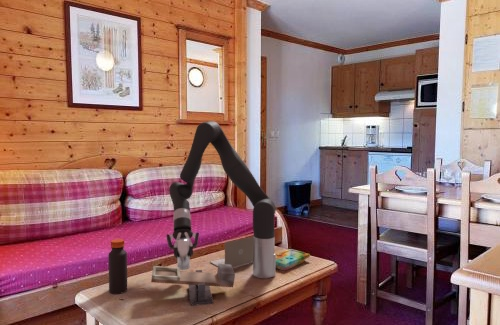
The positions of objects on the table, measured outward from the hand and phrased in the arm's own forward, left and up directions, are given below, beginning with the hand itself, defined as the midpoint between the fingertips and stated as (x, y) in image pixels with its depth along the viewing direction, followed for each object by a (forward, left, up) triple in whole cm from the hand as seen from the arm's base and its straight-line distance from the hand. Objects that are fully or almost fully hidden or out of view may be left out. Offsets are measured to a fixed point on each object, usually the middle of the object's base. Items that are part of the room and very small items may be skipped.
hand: (183, 256), depth 153 cm
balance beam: (-3, +12, -5) cm, 14 cm away
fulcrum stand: (-6, +12, -11) cm, 18 cm away
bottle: (+25, +2, -12) cm, 28 cm away
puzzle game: (-50, -16, -12) cm, 54 cm away
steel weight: (0, -2, -5) cm, 6 cm away
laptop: (-24, -22, -12) cm, 34 cm away
